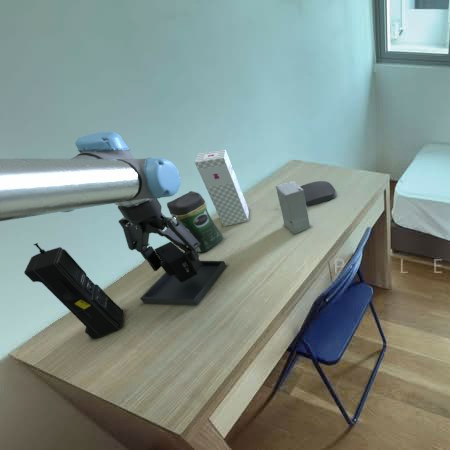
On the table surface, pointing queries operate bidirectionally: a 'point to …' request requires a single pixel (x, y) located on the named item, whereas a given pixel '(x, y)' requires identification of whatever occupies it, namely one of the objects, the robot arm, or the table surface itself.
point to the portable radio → (75, 291)
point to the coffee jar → (196, 219)
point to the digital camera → (174, 262)
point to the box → (222, 186)
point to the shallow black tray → (184, 286)
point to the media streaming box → (318, 192)
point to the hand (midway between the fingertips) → (178, 267)
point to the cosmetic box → (293, 206)
